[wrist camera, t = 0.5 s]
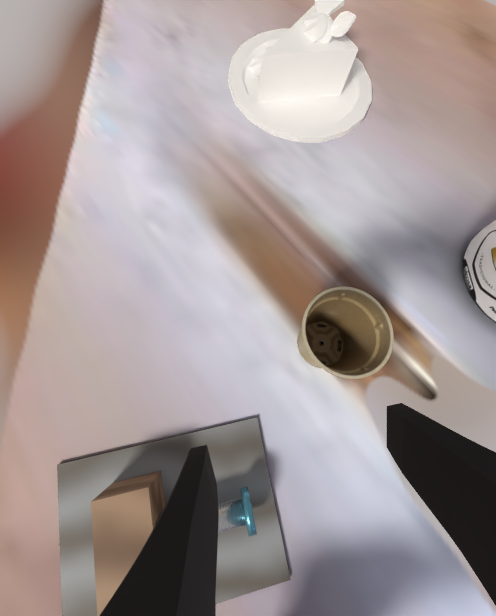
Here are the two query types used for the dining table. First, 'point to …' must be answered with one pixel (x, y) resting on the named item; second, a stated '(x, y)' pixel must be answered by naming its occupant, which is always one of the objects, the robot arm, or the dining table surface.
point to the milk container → (482, 270)
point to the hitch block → (148, 507)
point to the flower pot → (346, 333)
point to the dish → (303, 78)
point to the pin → (237, 514)
